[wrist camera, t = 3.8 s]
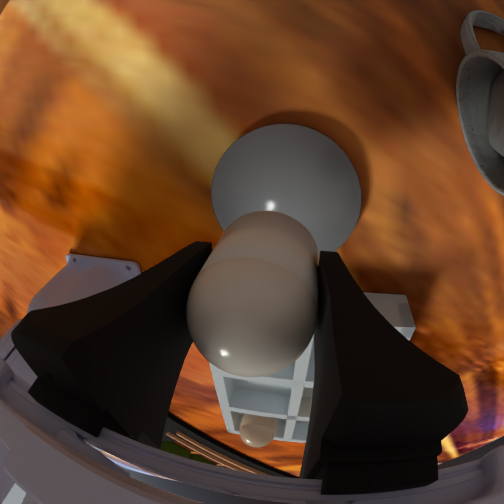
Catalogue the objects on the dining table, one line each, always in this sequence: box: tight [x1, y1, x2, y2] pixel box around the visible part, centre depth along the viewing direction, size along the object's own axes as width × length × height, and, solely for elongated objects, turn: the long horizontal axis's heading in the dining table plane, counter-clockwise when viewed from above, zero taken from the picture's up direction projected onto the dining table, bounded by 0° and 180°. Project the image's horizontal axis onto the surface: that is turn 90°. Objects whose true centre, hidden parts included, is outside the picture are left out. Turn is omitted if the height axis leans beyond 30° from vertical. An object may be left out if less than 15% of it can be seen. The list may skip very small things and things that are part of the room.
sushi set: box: [160, 412, 298, 478], centre depth 55 cm, size 45×45×4 cm
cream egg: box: [186, 211, 319, 377], centre depth 9 cm, size 4×4×5 cm
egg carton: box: [209, 292, 416, 443], centre depth 25 cm, size 15×22×4 cm
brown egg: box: [239, 413, 278, 447], centre depth 28 cm, size 4×4×5 cm
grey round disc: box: [211, 123, 361, 257], centre depth 17 cm, size 9×9×1 cm
